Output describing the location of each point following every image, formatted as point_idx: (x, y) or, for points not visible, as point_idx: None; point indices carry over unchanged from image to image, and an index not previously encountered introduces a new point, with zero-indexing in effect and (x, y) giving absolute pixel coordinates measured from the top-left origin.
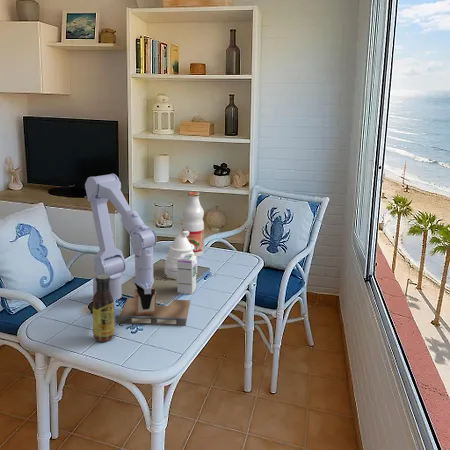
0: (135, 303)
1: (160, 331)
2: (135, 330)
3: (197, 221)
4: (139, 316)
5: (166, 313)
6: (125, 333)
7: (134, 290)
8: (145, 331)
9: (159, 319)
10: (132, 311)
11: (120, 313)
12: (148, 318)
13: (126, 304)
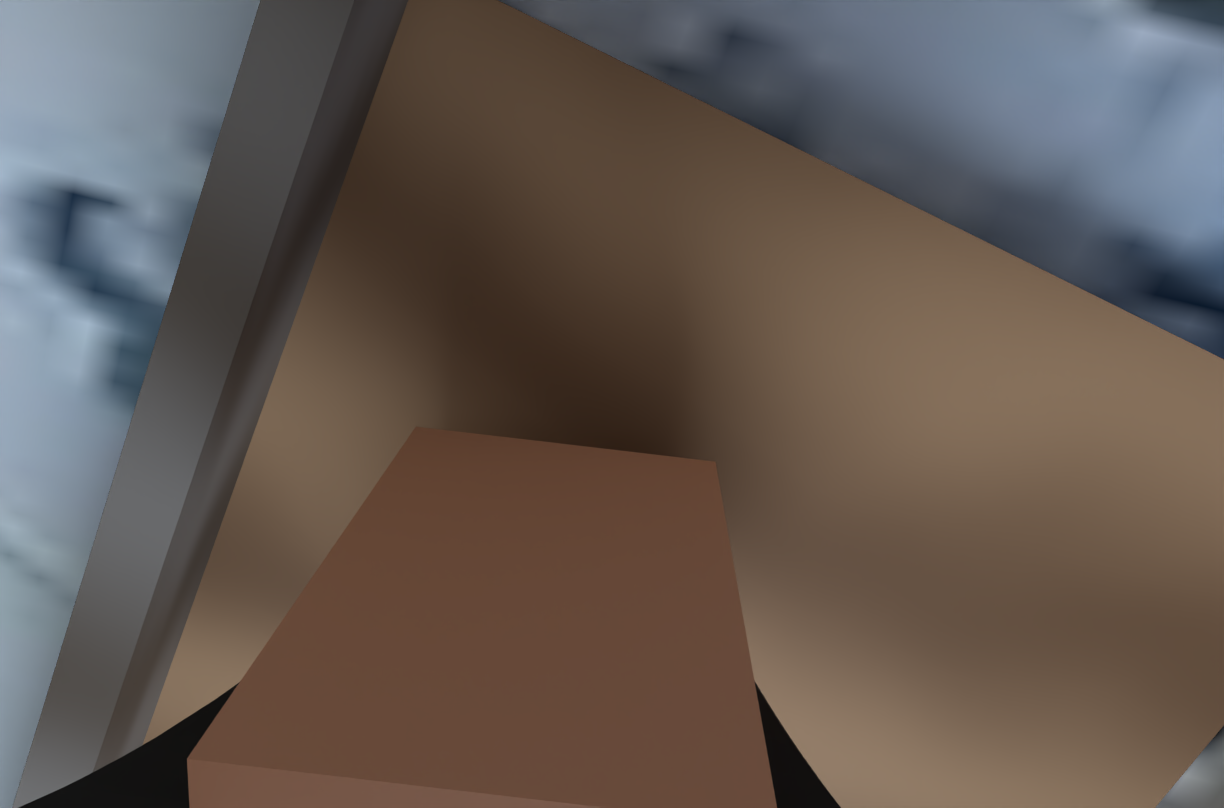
0: (520, 544)
1: (19, 639)
2: (126, 277)
3: None
4: (164, 462)
5: None
6: (45, 66)
7: (715, 805)
8: (59, 429)
9: (27, 766)
10: (758, 401)
11: (770, 135)
12: (82, 604)
13: (1139, 364)
